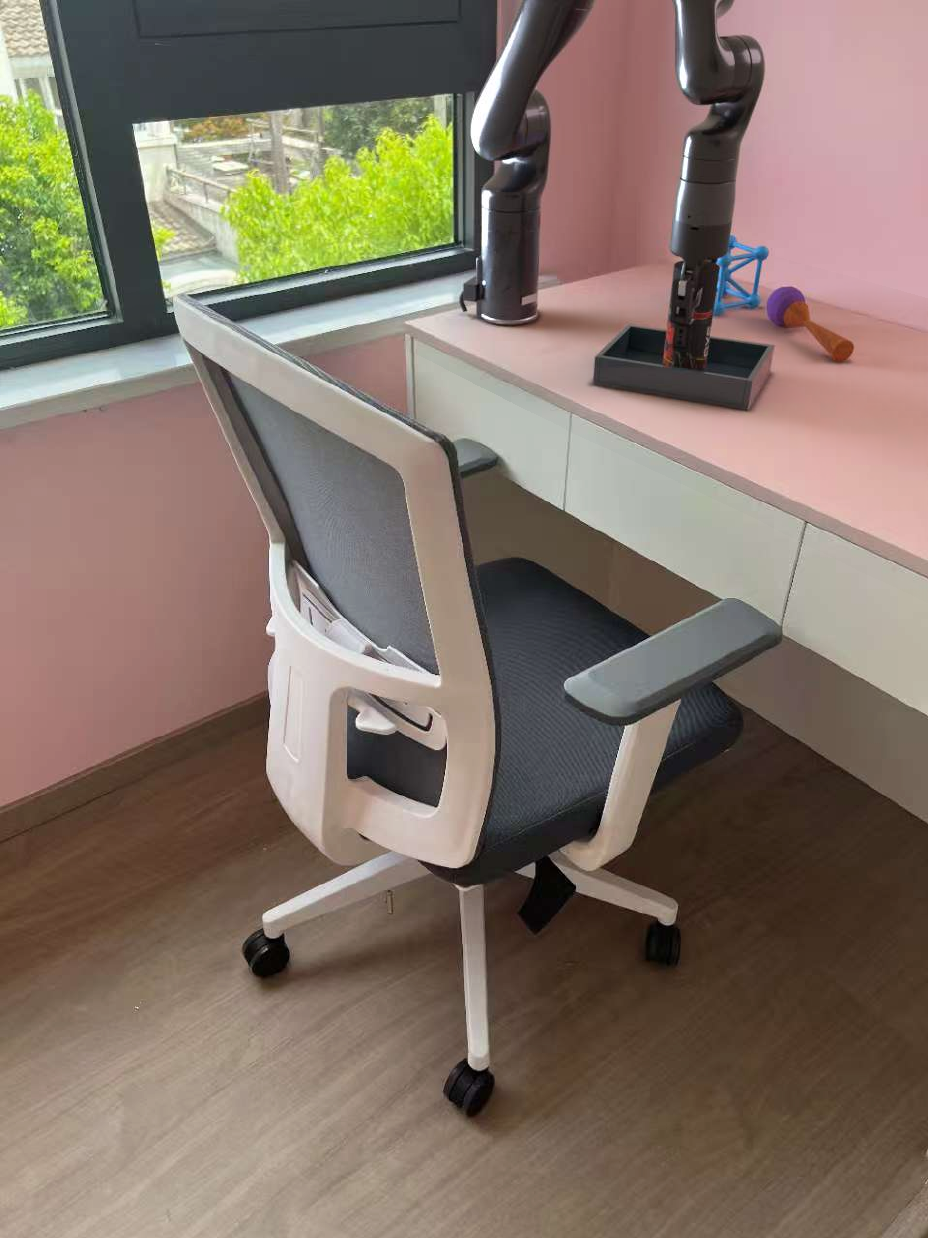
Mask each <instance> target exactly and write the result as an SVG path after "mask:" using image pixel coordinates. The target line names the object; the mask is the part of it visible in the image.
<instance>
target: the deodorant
mask: <svg viewBox="0 0 928 1238" xmlns="http://www.w3.org/2000/svg"><path fill="white" fill-rule="evenodd" d="M683 261H684V260H679V261H676V262H675V263H674V265H673V272H672V280H671V289H670V299H669V306H668V315H667V323H666V330H667V331H666V340H665V348H664V357H663V365H665V366H672V367H678V368H684V369H691V370H697V371H703V372H705V368H706V361H707V354H708V347H709V340H710V336H711V332H712V325H713V318H714V315H713V312H714V305H715V301H716V299H717V292H716V291H717V285H718V284H719V280H718V277H719V270H720V269H721V267H720V266H719V265H718V264H717V263H713V262H709V263H708V264H707V265H706V266H705V267H704V268H703V269H702V271H701V272H700V273H699V281H698V287H697V290H696V291H694V292H693V300H695V299H696V298H697V294H698V291H699V290H701V289H702V287H703V289H702V297H701V304H700V307H699V308H696V310H695V316H694V323H693V325H692V333H691V341H690V348H689V350H688V351H687V352H679V351H674V350H673V348H672V346H673V338H674V329H675V323H670V316H671V305H672V292H673V281H674V279H681V271H682V266H683V263H684V262H683ZM680 314H683V315H686V309H685V308H681V311H680Z"/></svg>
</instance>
